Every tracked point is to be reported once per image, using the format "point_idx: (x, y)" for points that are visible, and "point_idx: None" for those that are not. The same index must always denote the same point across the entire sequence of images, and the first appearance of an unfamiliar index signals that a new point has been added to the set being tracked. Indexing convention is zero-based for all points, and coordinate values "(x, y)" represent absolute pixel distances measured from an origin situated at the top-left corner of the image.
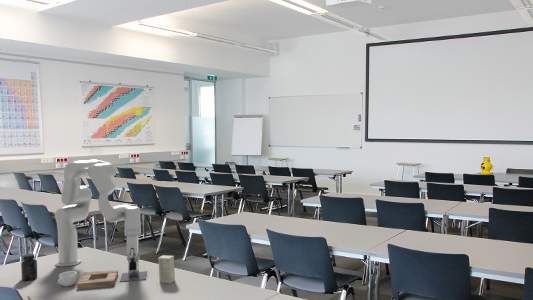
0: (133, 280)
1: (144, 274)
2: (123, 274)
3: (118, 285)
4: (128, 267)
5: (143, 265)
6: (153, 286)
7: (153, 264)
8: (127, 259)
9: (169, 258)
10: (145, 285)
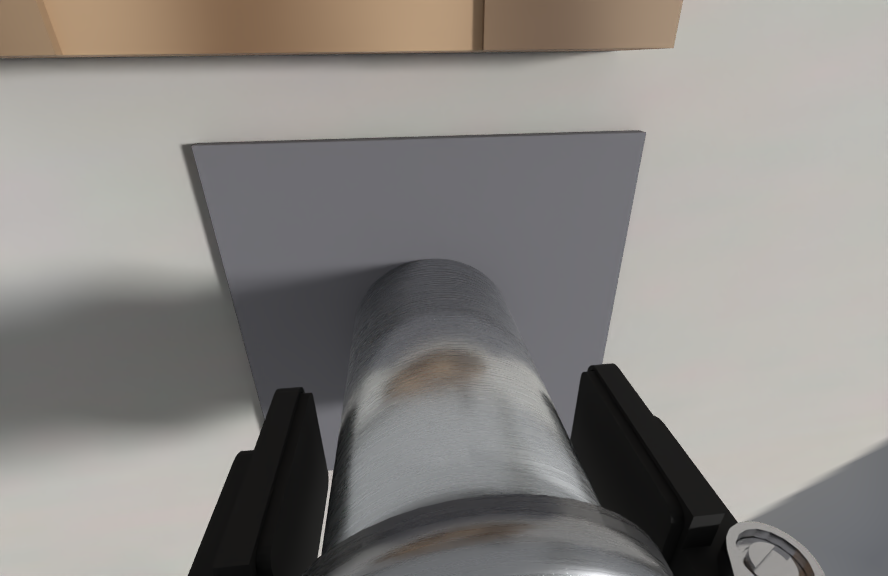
0: (246, 347)
1: None
2: (564, 160)
3: (11, 143)
4: (401, 364)
5: (866, 368)
6: (51, 555)
7: (826, 458)
8: (366, 564)
9: None
10: (74, 488)
